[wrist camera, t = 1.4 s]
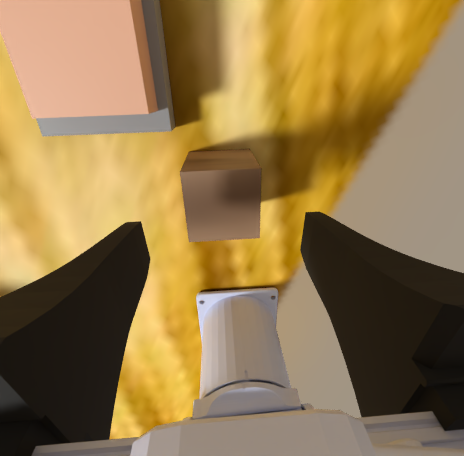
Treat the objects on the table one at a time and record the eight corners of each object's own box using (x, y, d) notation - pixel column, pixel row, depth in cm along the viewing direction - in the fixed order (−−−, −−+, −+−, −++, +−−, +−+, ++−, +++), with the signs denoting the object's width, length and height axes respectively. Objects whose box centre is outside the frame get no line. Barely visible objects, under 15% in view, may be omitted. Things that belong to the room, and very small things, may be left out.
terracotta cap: (158, 110, 16) (148, 114, 14) (58, 114, 16) (32, 118, 13) (138, -20, 13) (122, -43, 11) (16, -18, 13) (-26, -40, 11)
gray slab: (176, 126, 19) (171, 131, 16) (63, 130, 18) (42, 136, 16) (157, -22, 15) (148, -42, 13) (14, -20, 14) (-21, -39, 12)
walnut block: (249, 204, 21) (259, 238, 16) (195, 207, 21) (189, 241, 16) (249, 148, 19) (261, 168, 14) (188, 151, 19) (180, 172, 14)
